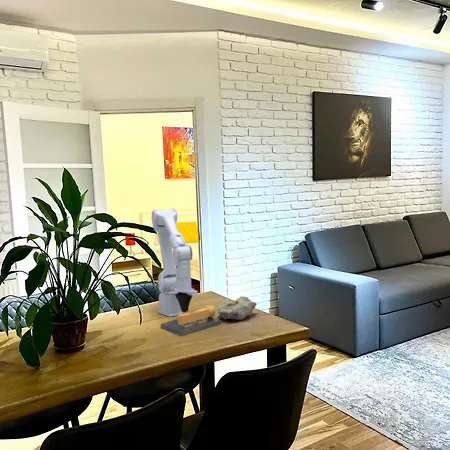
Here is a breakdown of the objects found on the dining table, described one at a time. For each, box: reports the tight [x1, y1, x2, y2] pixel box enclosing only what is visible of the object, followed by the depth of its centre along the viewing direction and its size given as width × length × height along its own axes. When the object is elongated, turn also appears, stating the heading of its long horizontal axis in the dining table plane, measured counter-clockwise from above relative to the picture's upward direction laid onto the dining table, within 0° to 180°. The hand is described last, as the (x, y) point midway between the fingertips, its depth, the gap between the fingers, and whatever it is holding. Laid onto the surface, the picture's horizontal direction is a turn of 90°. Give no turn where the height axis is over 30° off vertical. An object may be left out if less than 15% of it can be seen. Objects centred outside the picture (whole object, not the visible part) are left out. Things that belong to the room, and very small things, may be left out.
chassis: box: [160, 316, 222, 337], centre depth 176 cm, size 13×19×2 cm
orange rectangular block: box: [176, 304, 215, 324], centre depth 176 cm, size 16×4×4 cm, turn 131°
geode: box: [217, 295, 258, 322], centre depth 185 cm, size 17×9×15 cm
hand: (184, 311), depth 178 cm, fingers closed
